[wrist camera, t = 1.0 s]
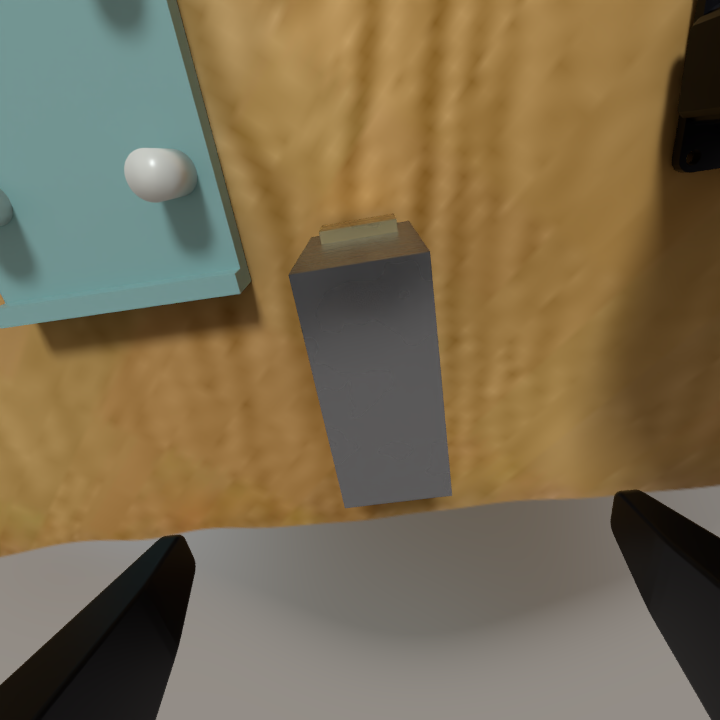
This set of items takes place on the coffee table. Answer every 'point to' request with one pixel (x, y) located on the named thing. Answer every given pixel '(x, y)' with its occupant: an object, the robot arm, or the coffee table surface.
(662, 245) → the coffee table surface
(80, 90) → the tray
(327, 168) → the coffee table surface
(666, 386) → the coffee table surface
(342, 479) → the block
